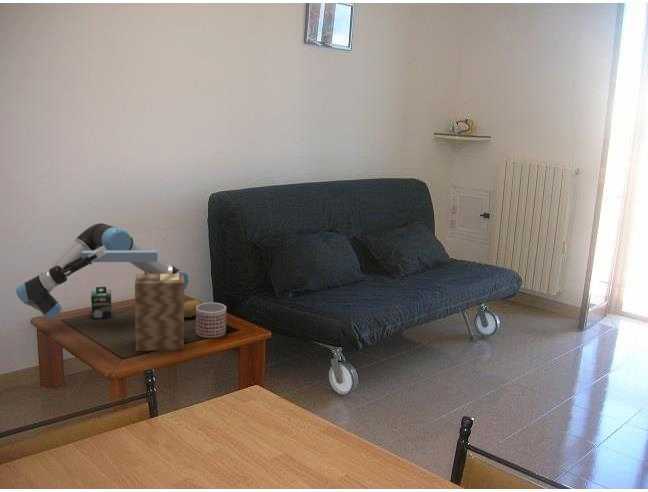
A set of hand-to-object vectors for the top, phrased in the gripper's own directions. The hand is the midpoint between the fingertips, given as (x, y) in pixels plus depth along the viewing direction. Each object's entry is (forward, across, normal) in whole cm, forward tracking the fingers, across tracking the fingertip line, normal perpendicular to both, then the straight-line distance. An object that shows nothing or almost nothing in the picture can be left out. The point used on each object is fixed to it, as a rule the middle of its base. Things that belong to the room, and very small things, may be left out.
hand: (104, 250), depth 269 cm
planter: (+18, +11, +60) cm, 63 cm away
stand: (-2, 0, +48) cm, 48 cm away
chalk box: (-27, +40, +34) cm, 59 cm away
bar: (+3, 0, +7) cm, 8 cm away
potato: (+10, +35, +55) cm, 66 cm away
